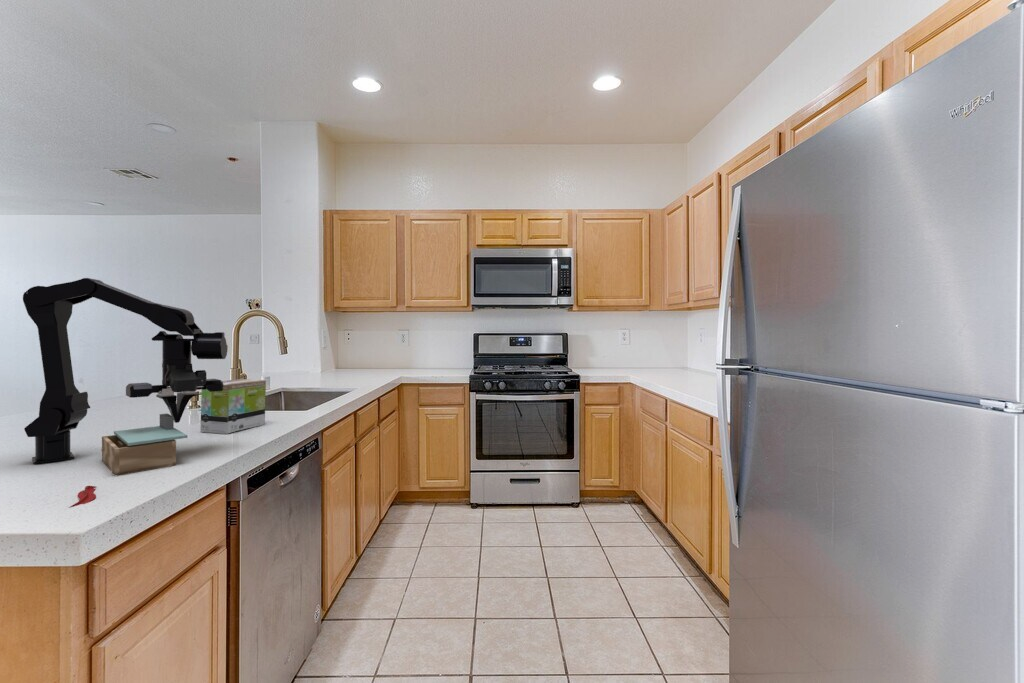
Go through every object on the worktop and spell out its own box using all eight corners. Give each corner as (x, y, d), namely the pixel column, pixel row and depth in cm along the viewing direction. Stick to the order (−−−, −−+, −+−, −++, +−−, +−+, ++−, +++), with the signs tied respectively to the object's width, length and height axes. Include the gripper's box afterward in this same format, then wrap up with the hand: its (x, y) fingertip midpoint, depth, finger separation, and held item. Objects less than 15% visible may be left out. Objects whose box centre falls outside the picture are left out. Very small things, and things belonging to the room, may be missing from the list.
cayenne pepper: (81, 510, 77) (81, 499, 77) (47, 512, 76) (47, 501, 76) (120, 487, 89) (120, 477, 89) (91, 489, 87) (91, 479, 87)
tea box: (228, 434, 132) (228, 383, 132) (199, 432, 134) (199, 382, 134) (266, 424, 147) (266, 378, 146) (239, 423, 149) (239, 377, 148)
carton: (101, 460, 104) (101, 436, 104) (158, 451, 112) (158, 429, 112) (115, 475, 94) (114, 449, 94) (176, 465, 102) (176, 440, 102)
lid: (113, 433, 106) (113, 418, 106) (168, 427, 114) (168, 412, 114) (128, 445, 95) (128, 428, 95) (187, 437, 103) (187, 421, 103)
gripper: (135, 362, 99) (135, 433, 100) (231, 359, 114) (230, 421, 114) (125, 360, 107) (125, 426, 107) (216, 357, 121) (216, 415, 121)
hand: (176, 422), depth 112 cm, fingers closed
